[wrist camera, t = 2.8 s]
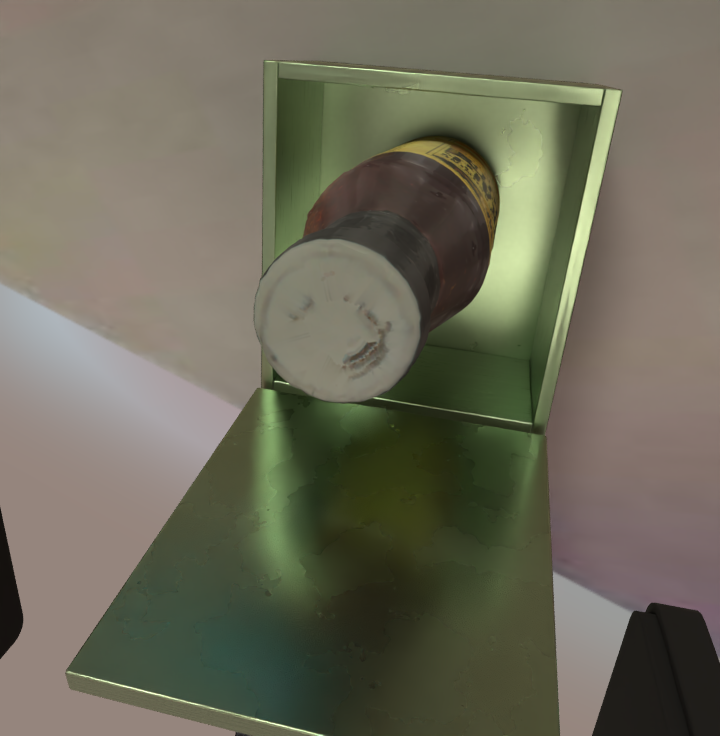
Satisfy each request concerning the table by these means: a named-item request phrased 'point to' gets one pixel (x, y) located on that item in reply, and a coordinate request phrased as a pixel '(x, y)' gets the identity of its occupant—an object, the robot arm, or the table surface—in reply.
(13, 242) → the table surface
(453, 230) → the sauce bottle
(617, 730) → the robot arm
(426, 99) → the green open box
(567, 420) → the table surface
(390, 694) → the lid
